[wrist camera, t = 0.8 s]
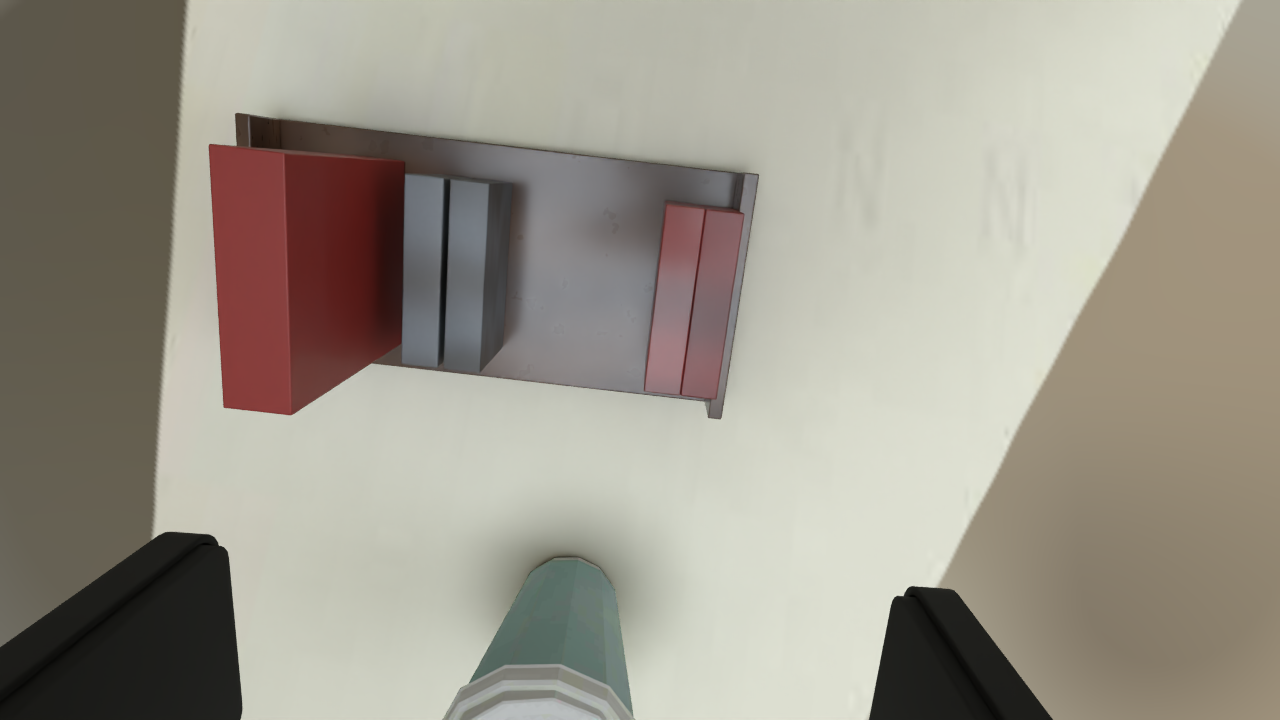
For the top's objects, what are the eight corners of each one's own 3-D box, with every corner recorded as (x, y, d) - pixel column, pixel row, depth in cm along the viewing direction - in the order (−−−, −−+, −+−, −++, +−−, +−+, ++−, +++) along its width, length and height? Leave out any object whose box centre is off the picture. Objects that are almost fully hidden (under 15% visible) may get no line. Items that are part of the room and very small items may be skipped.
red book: (353, 155, 38) (207, 143, 26) (405, 160, 39) (284, 152, 26) (353, 338, 41) (222, 408, 29) (401, 344, 41) (291, 416, 29)
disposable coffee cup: (620, 513, 45) (603, 671, 31) (664, 643, 48) (668, 844, 33) (475, 551, 46) (392, 721, 32) (525, 676, 49) (471, 885, 34)
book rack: (275, 119, 39) (201, 107, 33) (749, 174, 39) (767, 173, 33) (282, 348, 43) (218, 378, 36) (715, 398, 43) (725, 436, 37)
